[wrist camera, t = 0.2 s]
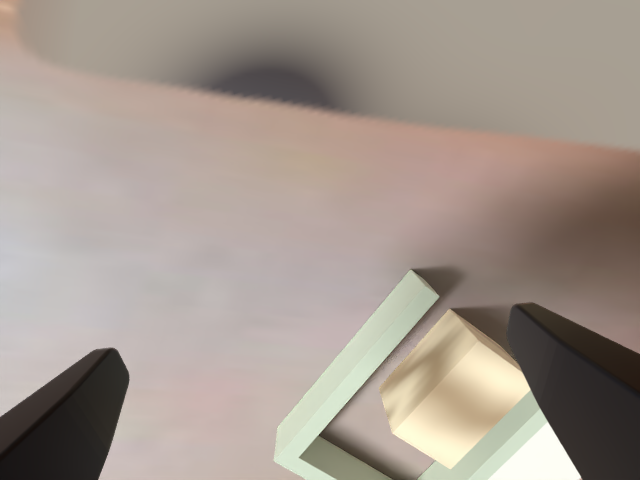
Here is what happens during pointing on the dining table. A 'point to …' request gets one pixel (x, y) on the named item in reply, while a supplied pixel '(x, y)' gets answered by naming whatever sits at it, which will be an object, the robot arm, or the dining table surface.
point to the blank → (451, 390)
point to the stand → (539, 460)
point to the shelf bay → (349, 375)
